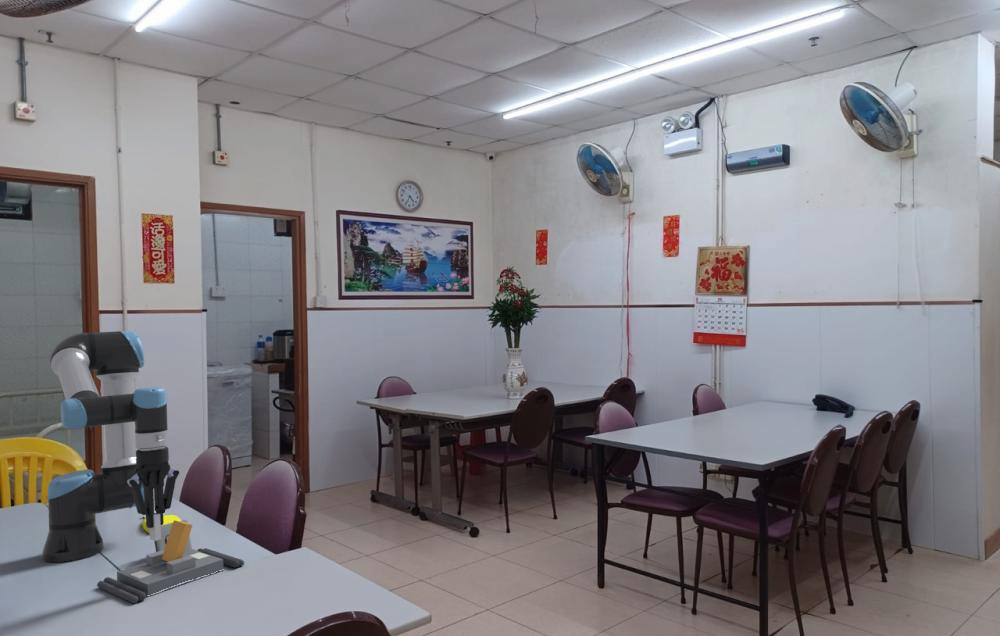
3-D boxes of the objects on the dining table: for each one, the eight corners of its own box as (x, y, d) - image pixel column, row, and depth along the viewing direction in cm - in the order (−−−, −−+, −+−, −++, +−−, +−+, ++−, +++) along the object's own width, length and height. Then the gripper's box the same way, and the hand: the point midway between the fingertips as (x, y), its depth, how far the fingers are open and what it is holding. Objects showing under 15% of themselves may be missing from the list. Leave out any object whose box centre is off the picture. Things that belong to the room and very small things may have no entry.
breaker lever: (160, 561, 181) (173, 520, 184) (167, 561, 183) (180, 521, 186) (173, 566, 177) (186, 523, 180) (180, 566, 179) (193, 524, 182)
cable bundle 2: (196, 556, 195) (196, 549, 195) (207, 553, 198) (207, 546, 198) (234, 569, 184) (234, 562, 184) (246, 565, 187) (245, 558, 187)
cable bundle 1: (97, 588, 174) (96, 580, 174) (111, 583, 177) (111, 576, 177) (133, 605, 163) (133, 596, 163) (148, 600, 165) (147, 591, 165)
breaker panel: (117, 583, 177) (116, 562, 177) (191, 559, 193) (190, 540, 193) (148, 596, 167) (147, 574, 167) (223, 570, 183) (222, 550, 183)
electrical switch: (160, 561, 192) (157, 528, 193) (151, 559, 196) (149, 526, 196) (192, 552, 200) (190, 519, 200) (184, 550, 203) (181, 518, 203)
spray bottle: (148, 537, 216) (134, 521, 236) (185, 529, 223) (169, 514, 243) (147, 527, 216) (134, 512, 236) (185, 520, 223) (169, 506, 243)
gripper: (133, 453, 169) (136, 549, 170) (184, 444, 180) (187, 534, 180) (118, 450, 174) (122, 543, 174) (169, 442, 184) (172, 529, 185)
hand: (155, 539), depth 177 cm, fingers closed
